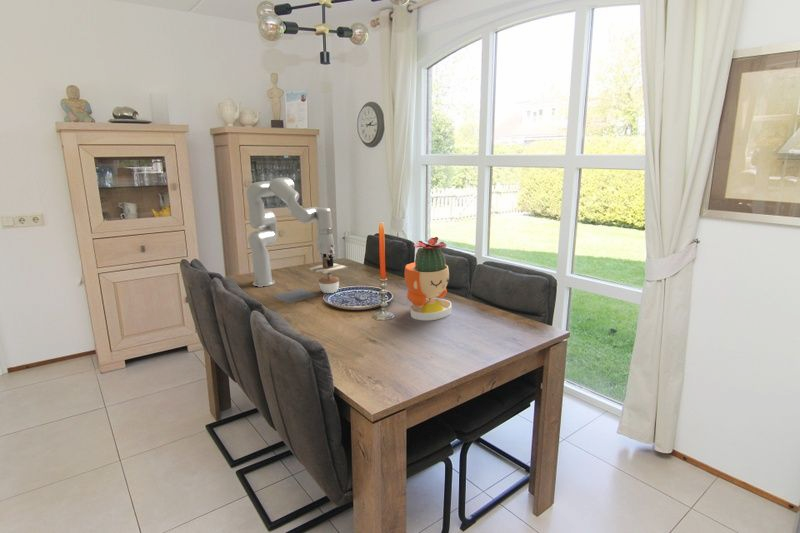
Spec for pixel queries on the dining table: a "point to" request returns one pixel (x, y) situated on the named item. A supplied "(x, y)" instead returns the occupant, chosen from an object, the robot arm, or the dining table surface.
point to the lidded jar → (329, 284)
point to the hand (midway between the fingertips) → (328, 265)
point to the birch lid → (325, 268)
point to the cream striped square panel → (295, 295)
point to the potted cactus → (428, 282)
